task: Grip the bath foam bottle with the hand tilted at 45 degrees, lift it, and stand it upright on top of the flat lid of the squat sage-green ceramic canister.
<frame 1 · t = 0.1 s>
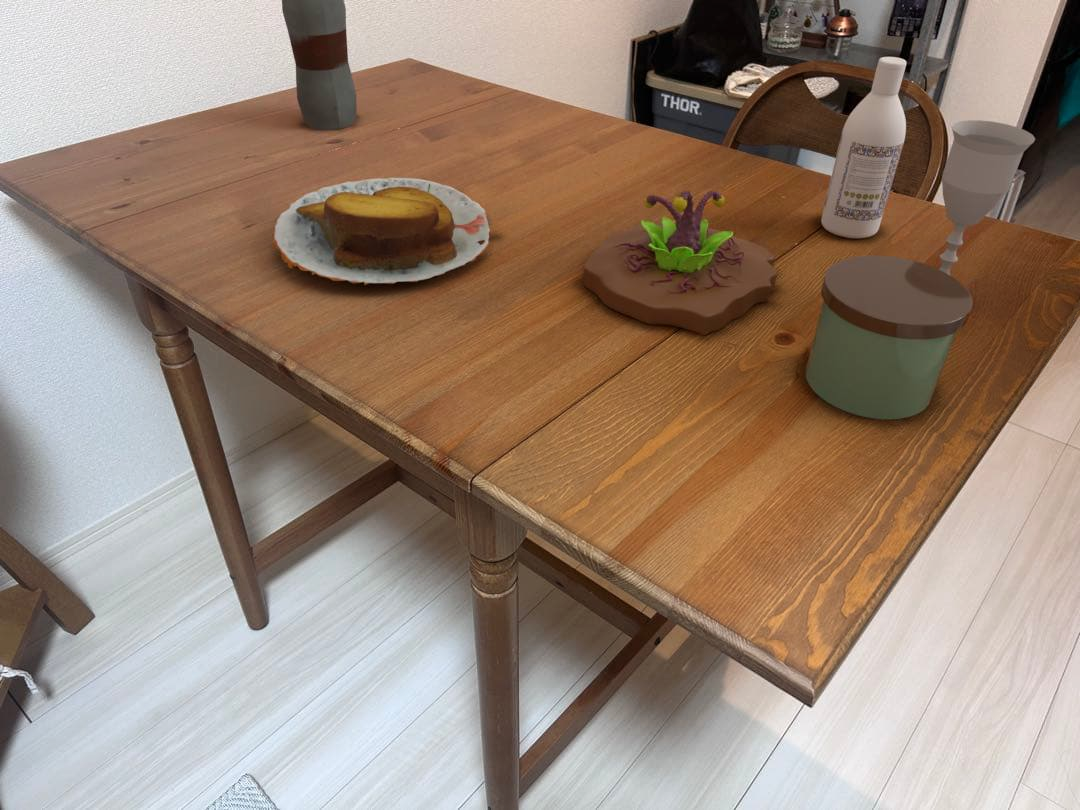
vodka: (330, 122, 131), on the table
food on plate: (386, 244, 97), on the table
bath foam: (848, 229, 102), on the table
canister: (867, 382, 76), on the table
chalice: (934, 299, 88), on the table
plant: (676, 283, 90), on the table
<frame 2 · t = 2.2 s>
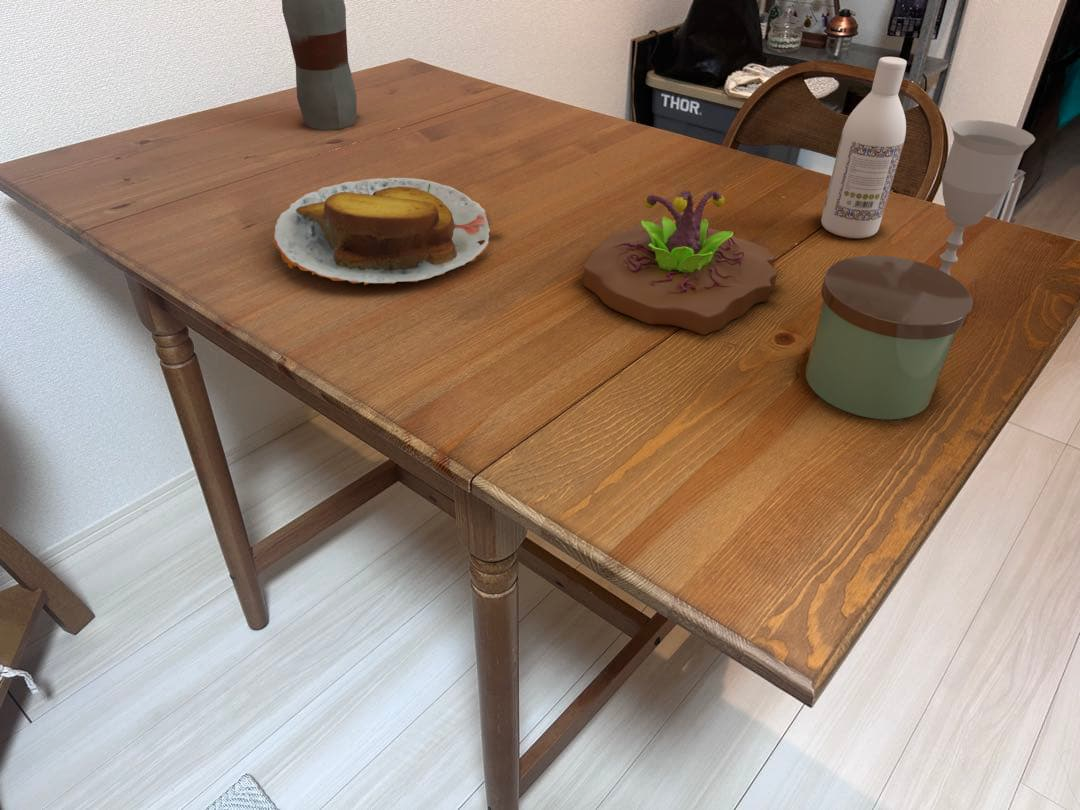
nothing on the table moved.
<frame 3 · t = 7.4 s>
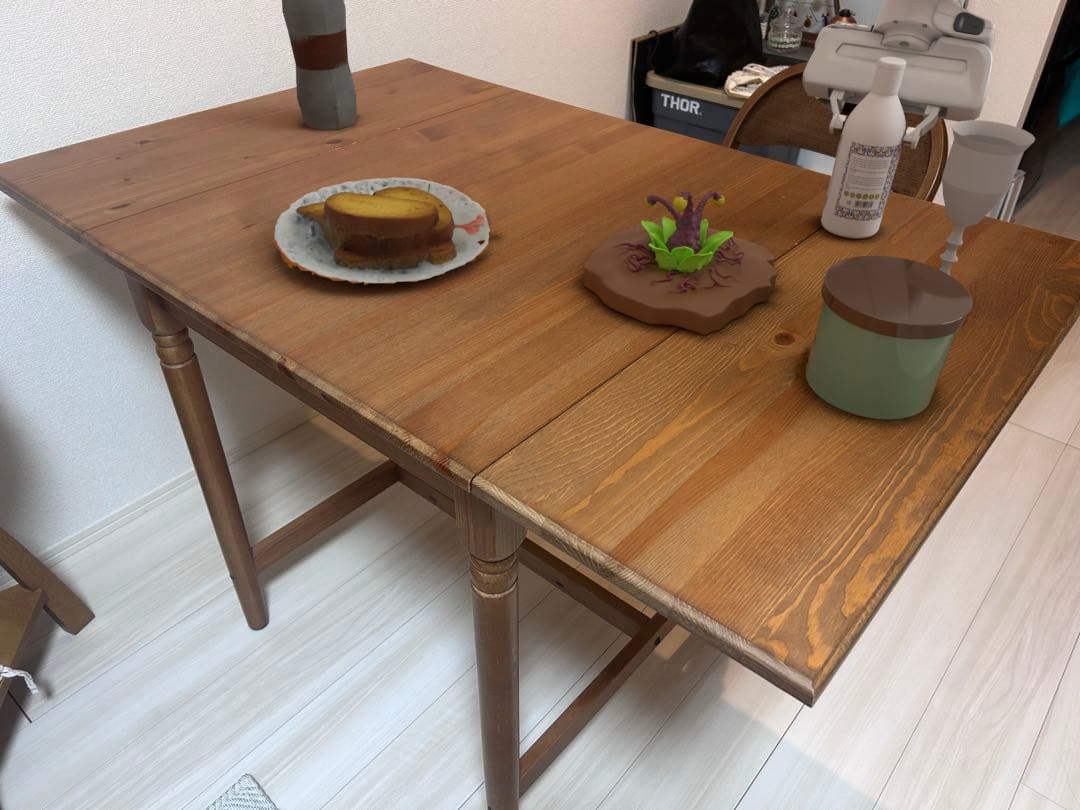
hand: (871, 139, 94), 11 cm above the table, tool tilted 45°, fingers closed on bath foam, 7 cm apart
bath foam: (848, 229, 102), on the table, touching gripper
everything else where it was.
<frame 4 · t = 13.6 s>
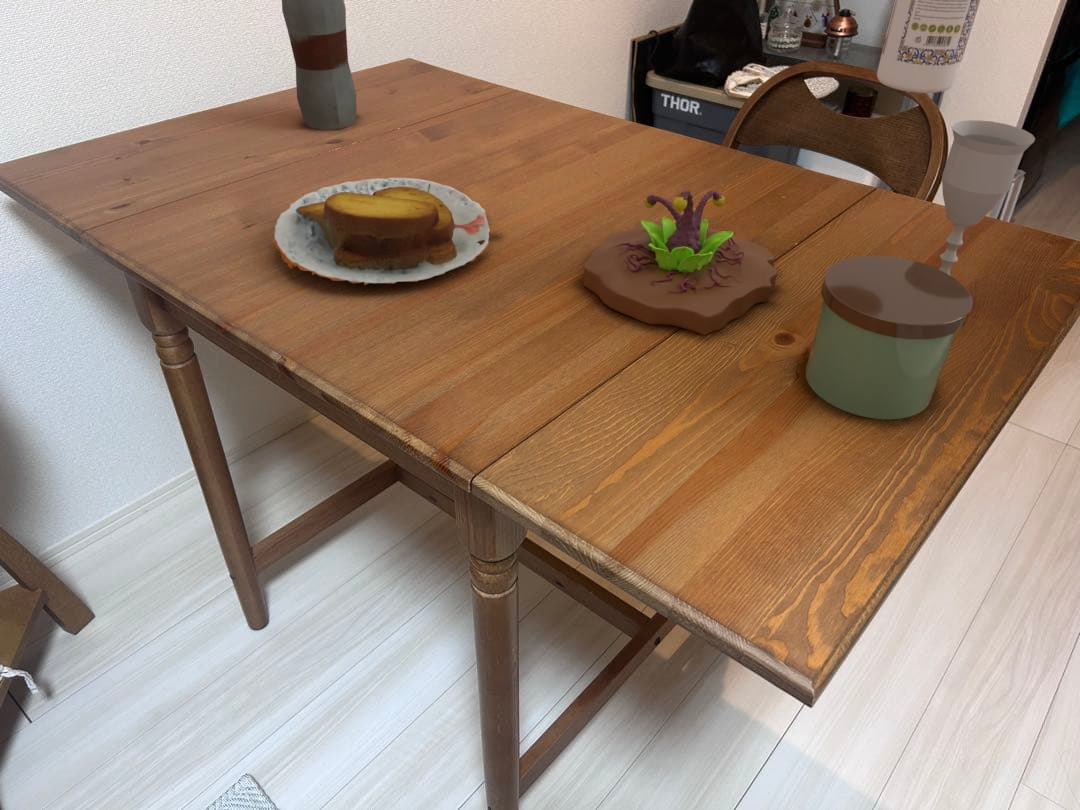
bath foam: (913, 85, 77), point 21 cm above the table, touching gripper
everything else where it was.
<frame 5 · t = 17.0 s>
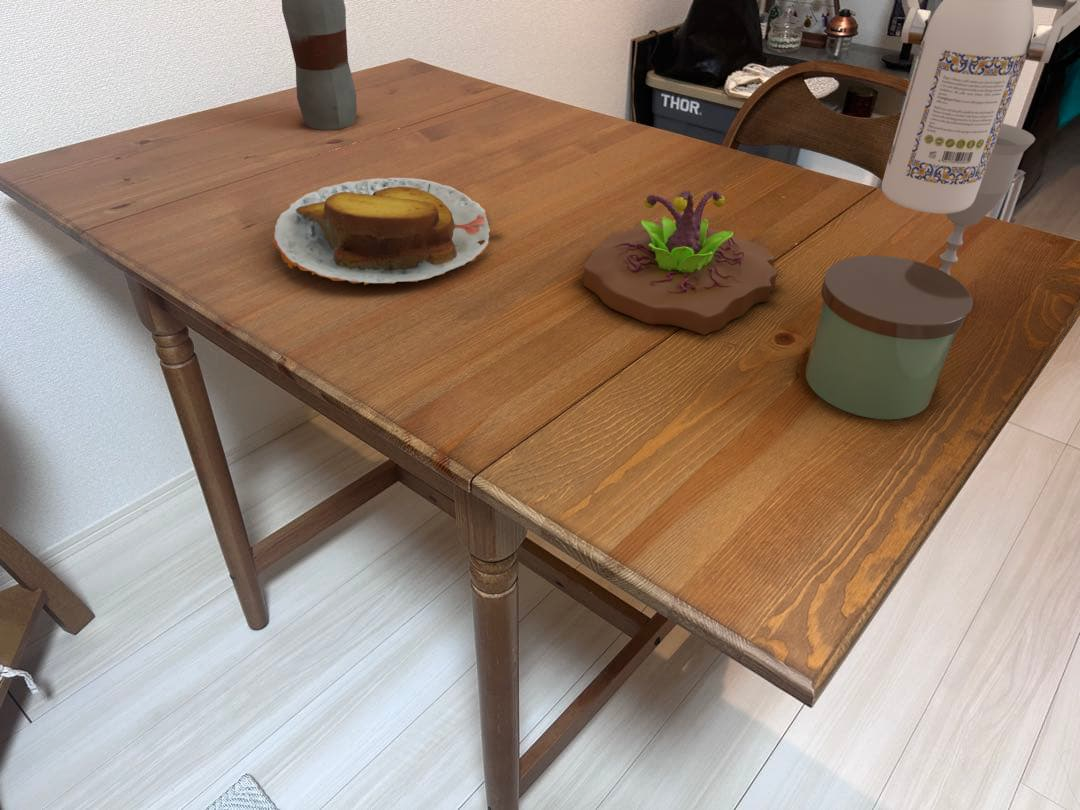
hand: (973, 47, 57), 29 cm above the table, tool tilted 45°, fingers closed on bath foam, 7 cm apart
bath foam: (924, 200, 65), point 18 cm above the table, touching gripper
everything else where it was.
when the fingers open (21 cm above the table, at t = 19.8 s): bath foam stays where it is, resting on canister.
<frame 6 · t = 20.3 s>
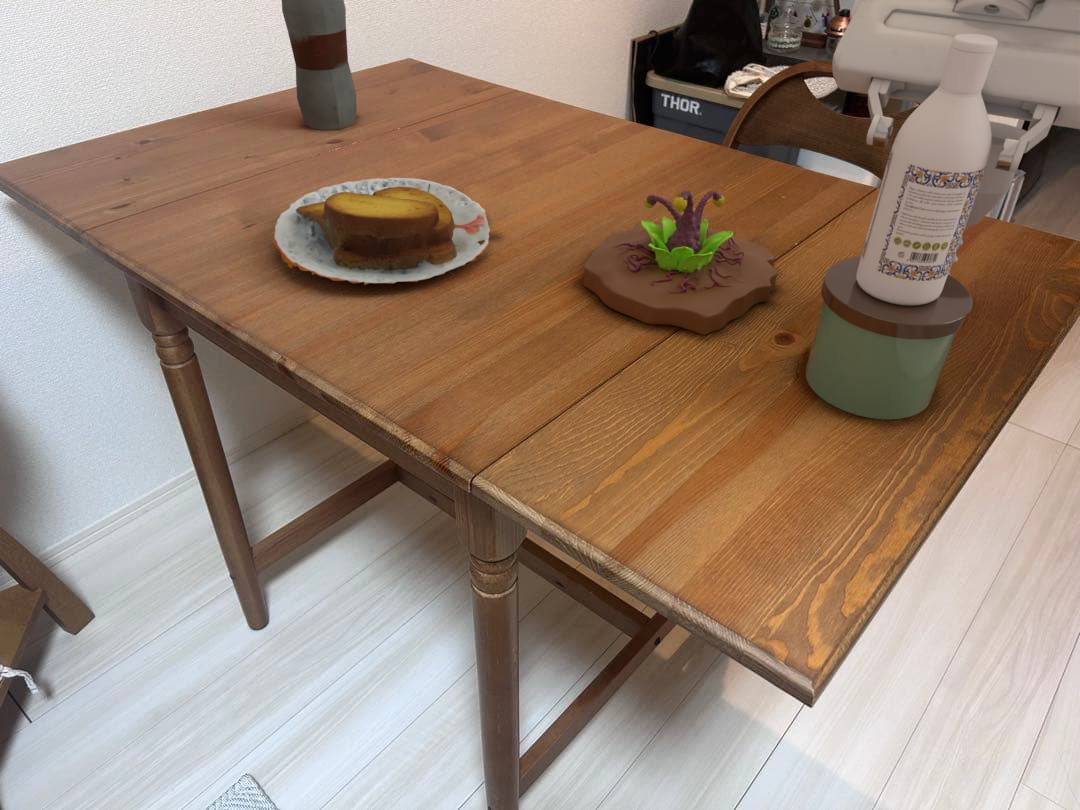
hand: (939, 154, 62), 22 cm above the table, tool tilted 45°, fingers open, 8 cm apart
bath foam: (896, 289, 70), point 10 cm above the table, touching canister
everything else where it was.
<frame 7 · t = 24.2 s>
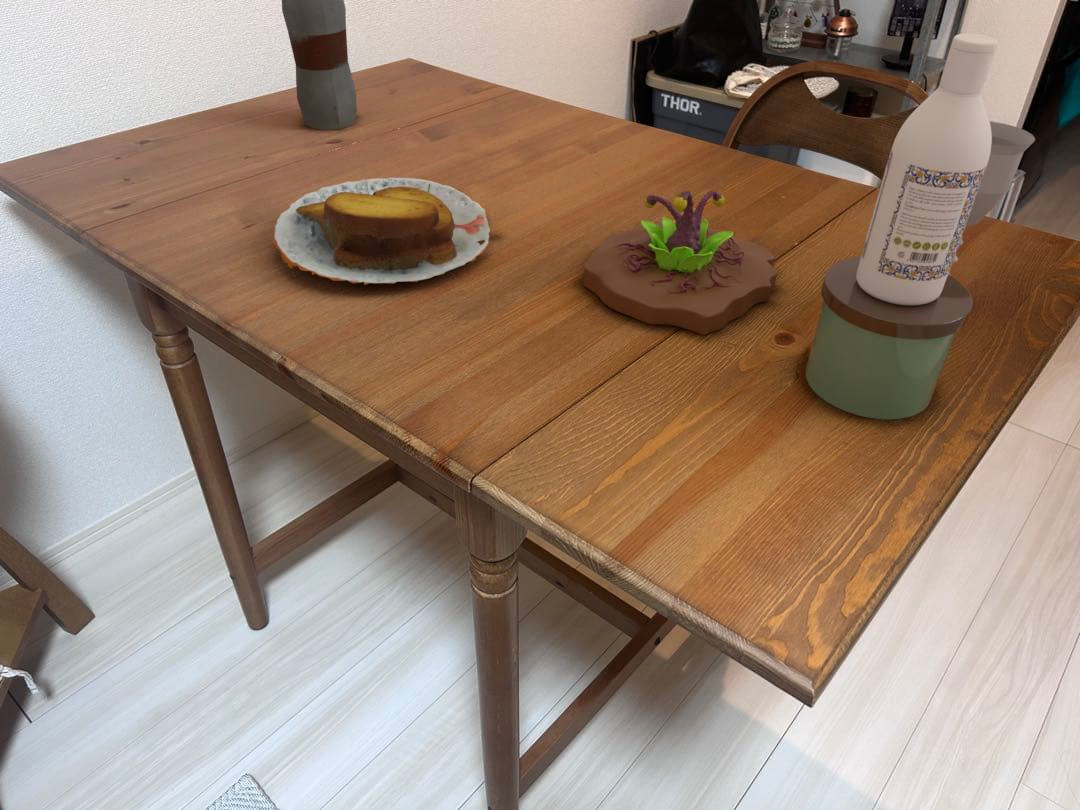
nothing on the table moved.
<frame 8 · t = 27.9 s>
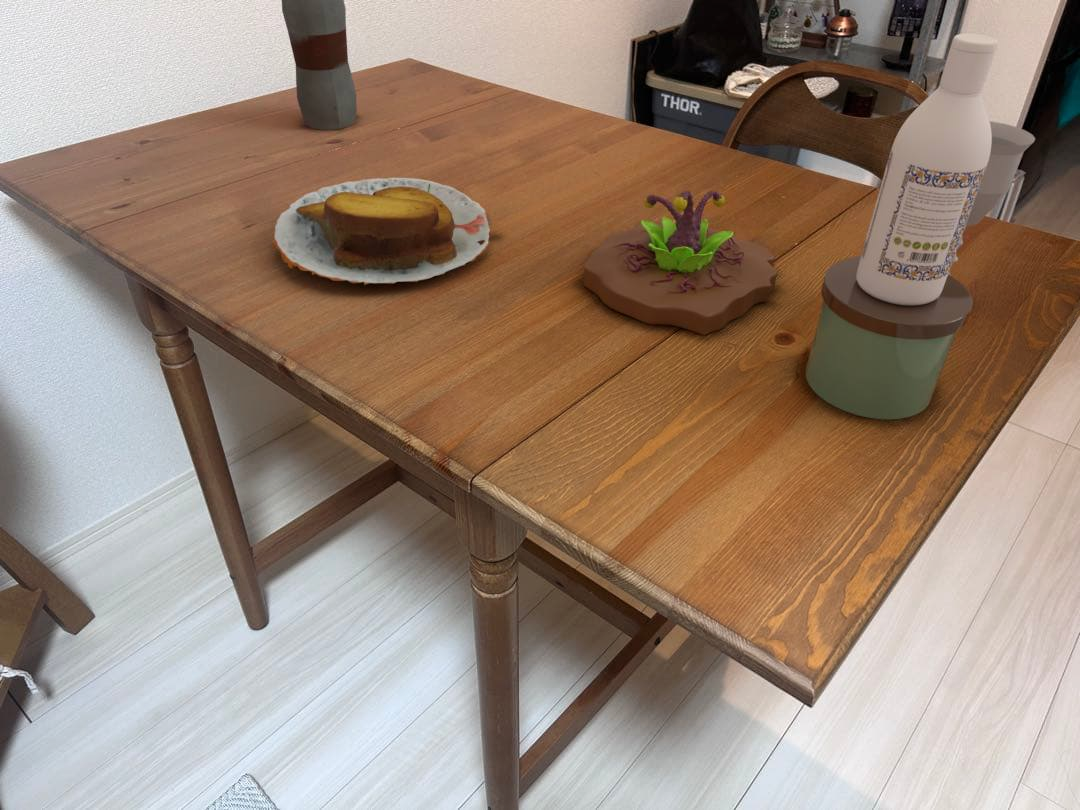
nothing on the table moved.
at the end: bath foam 0.0 cm off-centre on the canister, point 9.8 cm above the canister's base; bath foam tilted 0°; the gripper is holding nothing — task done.
